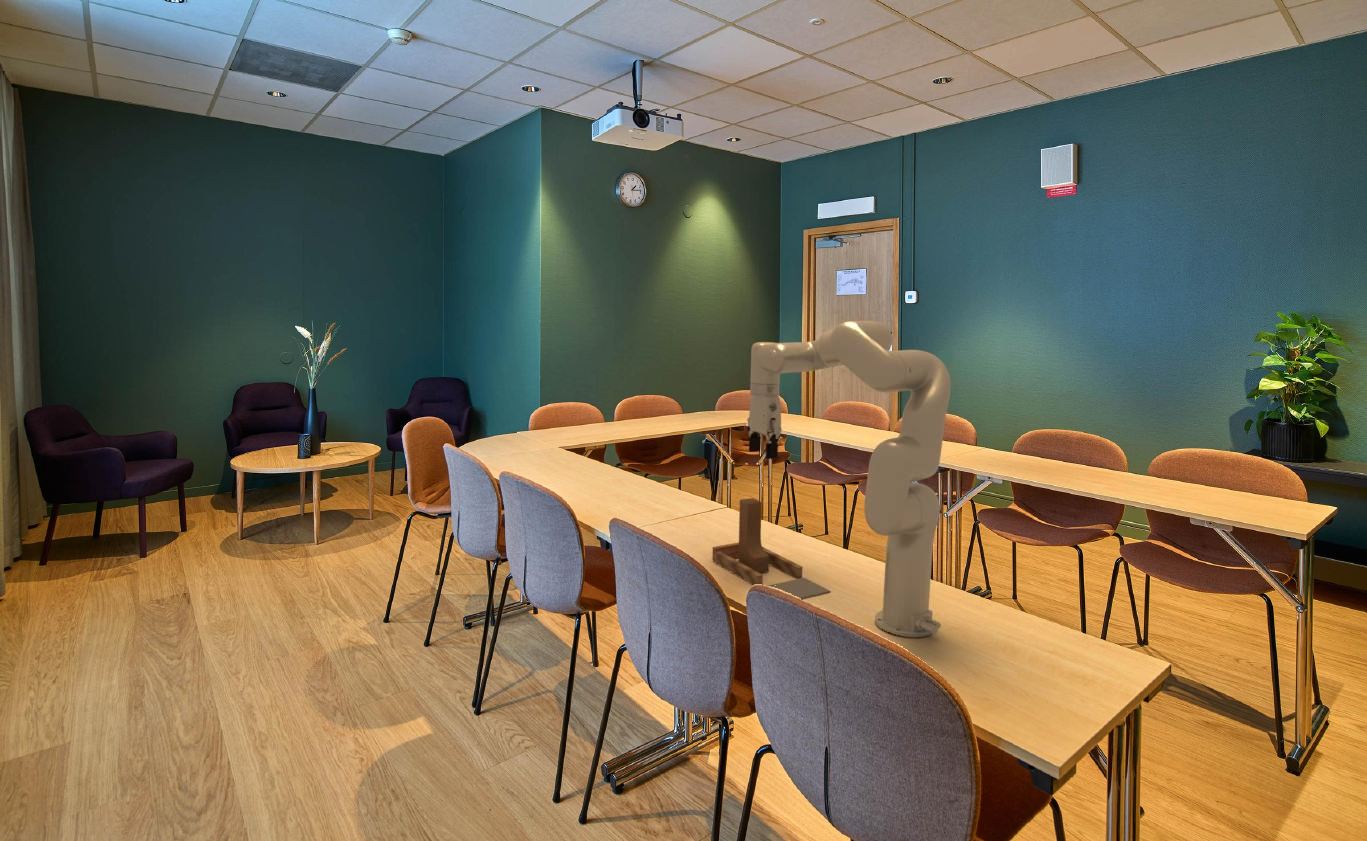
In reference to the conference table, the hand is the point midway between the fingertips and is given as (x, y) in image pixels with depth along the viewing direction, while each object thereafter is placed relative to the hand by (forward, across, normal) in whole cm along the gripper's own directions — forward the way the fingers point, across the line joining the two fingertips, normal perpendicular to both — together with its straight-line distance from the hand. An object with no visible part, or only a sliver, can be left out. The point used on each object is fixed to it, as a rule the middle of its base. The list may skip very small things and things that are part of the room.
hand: (762, 454), depth 186 cm
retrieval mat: (+31, -18, 0) cm, 36 cm away
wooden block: (+31, -1, +2) cm, 31 cm away
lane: (+31, -3, +2) cm, 31 cm away
